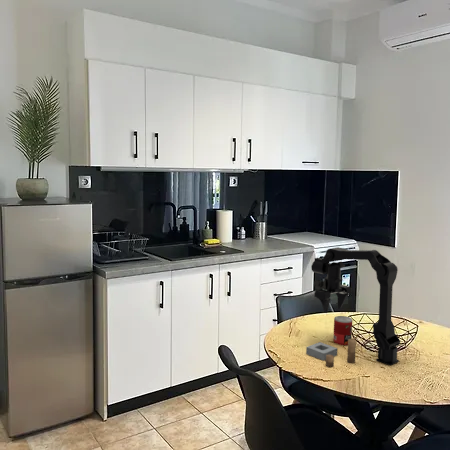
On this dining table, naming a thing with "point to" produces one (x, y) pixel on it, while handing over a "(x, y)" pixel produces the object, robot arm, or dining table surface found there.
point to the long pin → (351, 350)
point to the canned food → (342, 330)
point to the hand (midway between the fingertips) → (332, 310)
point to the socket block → (321, 350)
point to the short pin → (329, 360)
